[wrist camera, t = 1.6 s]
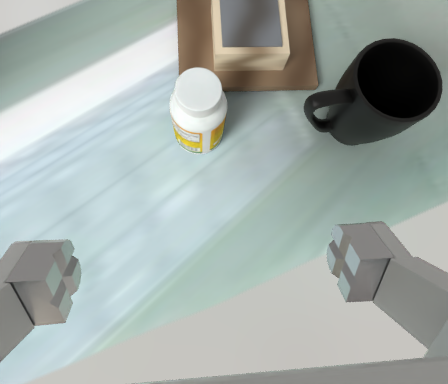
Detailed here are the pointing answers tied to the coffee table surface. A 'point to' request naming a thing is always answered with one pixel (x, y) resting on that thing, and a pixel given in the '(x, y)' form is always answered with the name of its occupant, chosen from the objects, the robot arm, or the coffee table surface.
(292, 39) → the wooden stand
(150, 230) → the coffee table surface
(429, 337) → the robot arm
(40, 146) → the coffee table surface
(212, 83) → the supplement bottle
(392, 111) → the mug
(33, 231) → the coffee table surface
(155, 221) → the coffee table surface
